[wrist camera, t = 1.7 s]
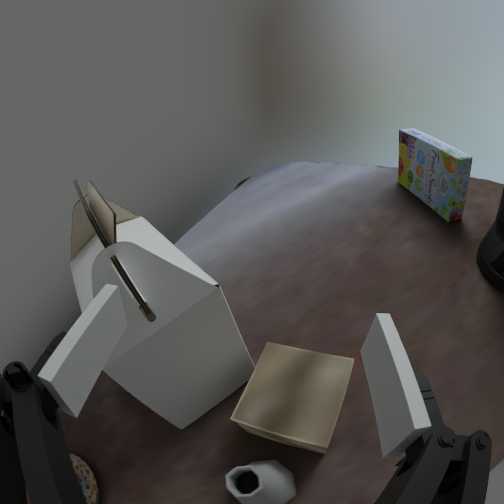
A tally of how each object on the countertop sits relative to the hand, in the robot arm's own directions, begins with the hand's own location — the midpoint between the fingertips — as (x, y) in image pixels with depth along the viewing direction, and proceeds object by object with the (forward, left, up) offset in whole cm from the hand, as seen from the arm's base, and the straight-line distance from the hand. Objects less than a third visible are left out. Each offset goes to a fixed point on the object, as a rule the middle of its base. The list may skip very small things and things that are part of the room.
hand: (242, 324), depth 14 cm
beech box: (0, -4, -23) cm, 24 cm away
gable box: (+20, -6, -24) cm, 31 cm away
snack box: (-18, -57, -24) cm, 64 cm away
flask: (0, +7, -24) cm, 25 cm away
